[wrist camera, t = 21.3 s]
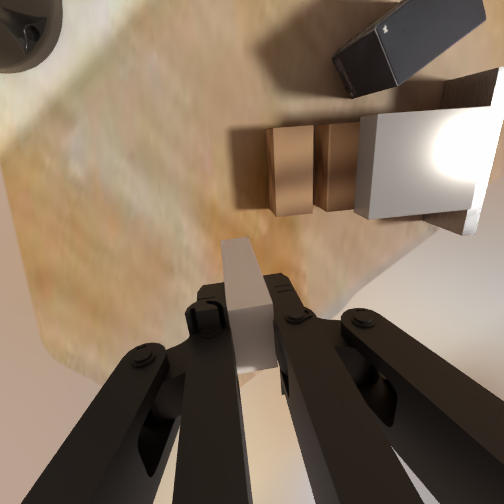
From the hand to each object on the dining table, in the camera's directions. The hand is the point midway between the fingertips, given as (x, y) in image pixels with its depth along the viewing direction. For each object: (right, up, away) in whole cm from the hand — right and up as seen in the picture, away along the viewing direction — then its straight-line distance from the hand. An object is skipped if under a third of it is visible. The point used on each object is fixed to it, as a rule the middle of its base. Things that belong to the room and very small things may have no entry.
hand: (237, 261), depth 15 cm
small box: (+17, +26, +22) cm, 38 cm away
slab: (+21, +12, +22) cm, 33 cm away
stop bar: (+29, +15, +27) cm, 43 cm away
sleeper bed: (+12, +13, +26) cm, 32 cm away
